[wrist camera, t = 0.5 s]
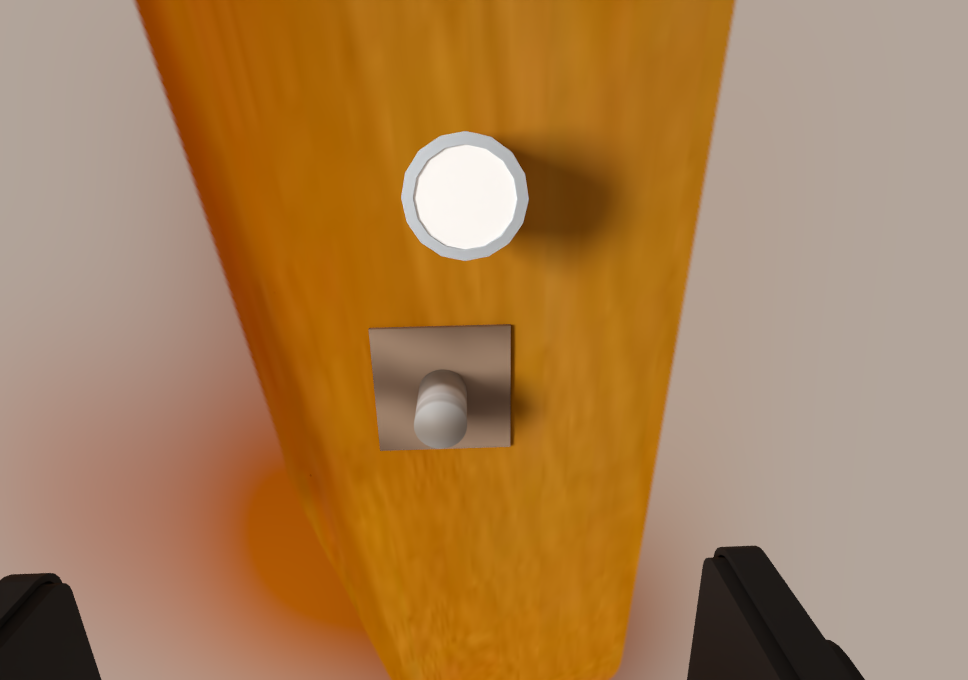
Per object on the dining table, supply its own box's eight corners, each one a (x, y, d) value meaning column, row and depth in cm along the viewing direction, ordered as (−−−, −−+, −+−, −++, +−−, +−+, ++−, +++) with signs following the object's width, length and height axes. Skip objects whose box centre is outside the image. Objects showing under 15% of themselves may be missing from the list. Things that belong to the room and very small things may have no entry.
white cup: (532, 210, 39) (546, 234, 33) (436, 248, 40) (431, 279, 33) (495, 107, 37) (502, 109, 30) (393, 149, 37) (379, 161, 31)
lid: (370, 325, 42) (357, 359, 37) (509, 321, 43) (516, 354, 37) (381, 444, 46) (371, 491, 41) (509, 441, 46) (515, 486, 41)
